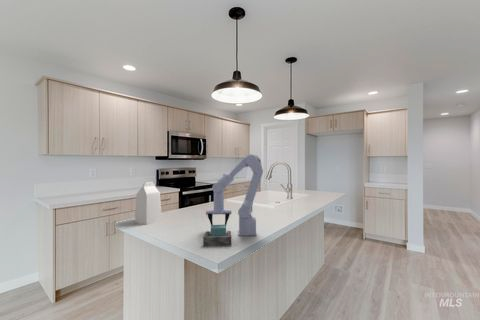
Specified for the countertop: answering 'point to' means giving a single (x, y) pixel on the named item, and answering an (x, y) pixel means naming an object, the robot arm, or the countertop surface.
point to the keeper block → (218, 230)
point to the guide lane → (216, 240)
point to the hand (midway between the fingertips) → (218, 226)
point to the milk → (148, 204)
